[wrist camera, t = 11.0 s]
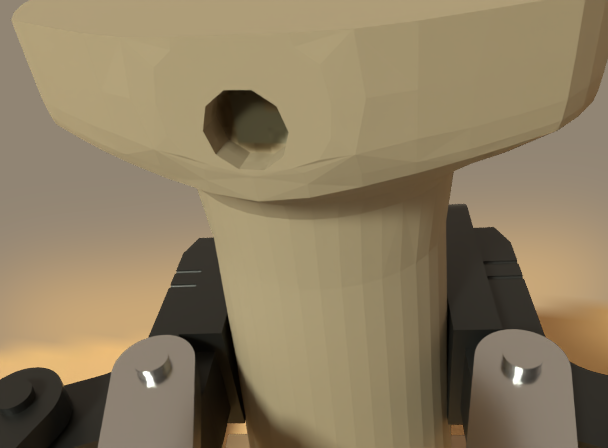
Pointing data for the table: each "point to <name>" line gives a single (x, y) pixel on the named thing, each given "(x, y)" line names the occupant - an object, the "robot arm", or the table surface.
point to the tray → (239, 444)
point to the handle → (322, 170)
